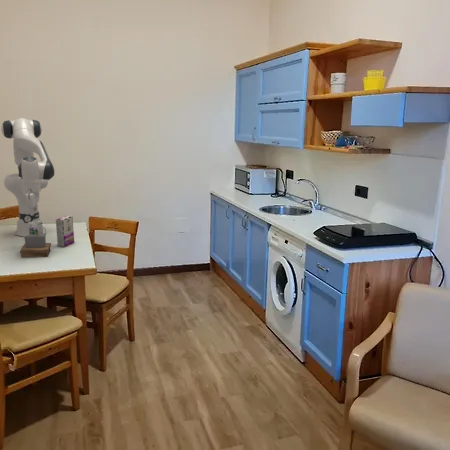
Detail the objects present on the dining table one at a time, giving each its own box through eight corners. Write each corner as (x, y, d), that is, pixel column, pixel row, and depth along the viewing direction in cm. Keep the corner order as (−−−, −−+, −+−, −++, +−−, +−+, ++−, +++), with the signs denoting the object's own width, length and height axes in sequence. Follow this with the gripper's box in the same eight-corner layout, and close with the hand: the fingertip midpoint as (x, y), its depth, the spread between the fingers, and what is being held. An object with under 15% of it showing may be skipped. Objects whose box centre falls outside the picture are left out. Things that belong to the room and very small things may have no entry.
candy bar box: (66, 241, 285) (65, 215, 281) (74, 242, 284) (73, 215, 281) (56, 246, 274) (55, 219, 271) (64, 247, 273) (63, 219, 270)
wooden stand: (25, 250, 265) (24, 243, 264) (51, 249, 268) (50, 242, 267) (20, 257, 252) (19, 250, 251) (48, 256, 255) (47, 249, 254)
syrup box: (29, 247, 273) (27, 222, 269) (35, 244, 278) (34, 220, 275) (37, 247, 271) (36, 223, 268) (44, 245, 277) (42, 221, 274)
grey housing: (46, 245, 262) (45, 234, 261) (45, 247, 258) (44, 236, 257) (26, 246, 260) (25, 235, 259) (25, 248, 256) (24, 237, 255)
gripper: (35, 191, 243) (36, 217, 246) (40, 185, 262) (42, 209, 265) (21, 191, 241) (23, 217, 244) (28, 185, 261) (30, 209, 264)
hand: (33, 213), depth 255 cm, fingers open, 8 cm apart
